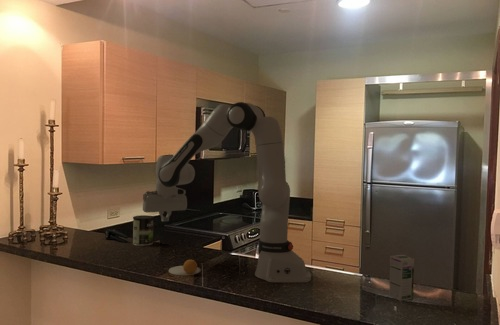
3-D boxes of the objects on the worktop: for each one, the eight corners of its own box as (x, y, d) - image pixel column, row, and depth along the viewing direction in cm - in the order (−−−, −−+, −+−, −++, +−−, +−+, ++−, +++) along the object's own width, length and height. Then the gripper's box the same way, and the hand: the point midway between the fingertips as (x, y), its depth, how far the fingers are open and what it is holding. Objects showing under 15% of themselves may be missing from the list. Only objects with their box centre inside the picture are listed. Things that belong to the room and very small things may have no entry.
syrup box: (400, 301, 138) (402, 259, 138) (388, 295, 144) (390, 255, 143) (413, 299, 141) (415, 257, 140) (400, 293, 146) (402, 253, 146)
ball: (201, 262, 164) (196, 269, 167) (190, 254, 164) (185, 261, 167) (195, 271, 159) (190, 278, 162) (183, 263, 159) (179, 271, 163)
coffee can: (156, 242, 215) (156, 215, 215) (147, 246, 205) (148, 218, 205) (138, 240, 217) (138, 214, 217) (128, 245, 207) (129, 217, 207)
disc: (203, 267, 172) (203, 266, 172) (196, 276, 159) (196, 275, 159) (174, 265, 174) (174, 264, 174) (164, 274, 161) (164, 273, 161)
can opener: (101, 239, 220) (101, 228, 220) (112, 237, 226) (112, 227, 226) (120, 244, 209) (121, 233, 209) (132, 242, 215) (132, 231, 215)
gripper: (145, 192, 174) (145, 224, 175) (189, 190, 186) (188, 220, 187) (140, 190, 180) (140, 221, 180) (183, 189, 191) (182, 218, 192)
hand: (165, 221), depth 183 cm, fingers closed
